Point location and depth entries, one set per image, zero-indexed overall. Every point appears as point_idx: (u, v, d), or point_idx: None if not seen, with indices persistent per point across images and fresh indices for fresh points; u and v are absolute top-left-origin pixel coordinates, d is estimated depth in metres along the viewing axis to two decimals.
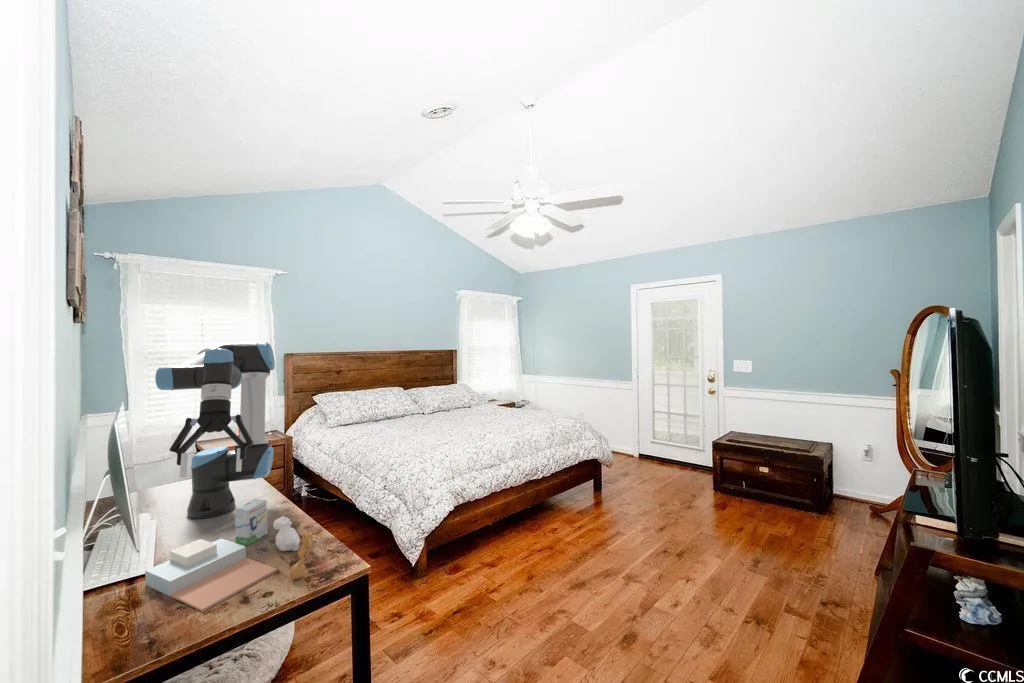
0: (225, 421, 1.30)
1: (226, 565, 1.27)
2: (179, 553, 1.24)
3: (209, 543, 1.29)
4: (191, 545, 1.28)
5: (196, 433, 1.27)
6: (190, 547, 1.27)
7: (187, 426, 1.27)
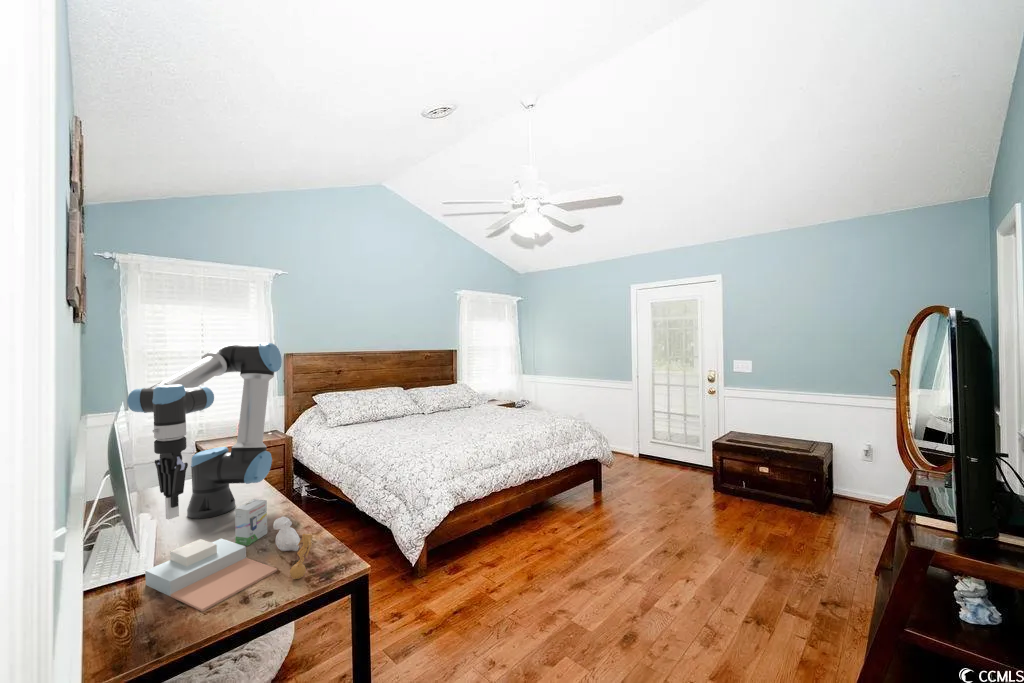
0: (171, 461, 1.28)
1: (226, 565, 1.27)
2: (179, 553, 1.24)
3: (209, 543, 1.29)
4: (191, 545, 1.28)
5: (164, 474, 1.30)
6: (190, 547, 1.27)
7: (157, 467, 1.31)
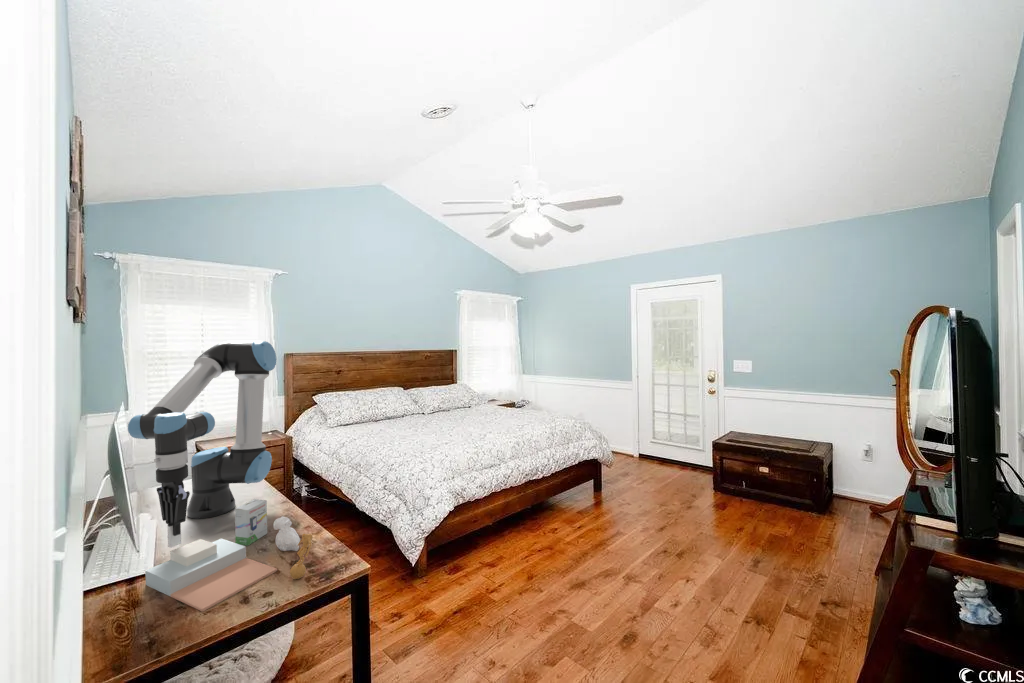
0: (173, 490, 1.29)
1: (226, 565, 1.27)
2: (179, 553, 1.24)
3: (209, 543, 1.29)
4: (191, 545, 1.28)
5: (166, 502, 1.30)
6: (190, 547, 1.27)
7: (159, 495, 1.32)
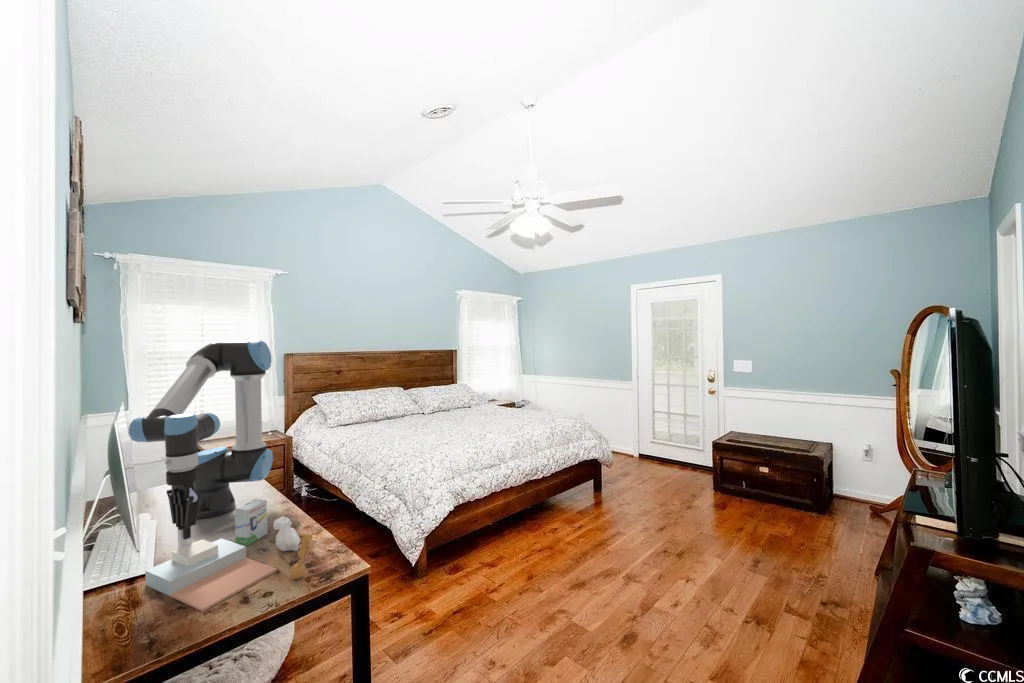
0: (183, 493, 1.26)
1: (226, 565, 1.27)
2: (180, 553, 1.24)
3: (210, 544, 1.29)
4: (192, 545, 1.28)
5: (176, 505, 1.28)
6: (192, 548, 1.27)
7: (170, 498, 1.29)
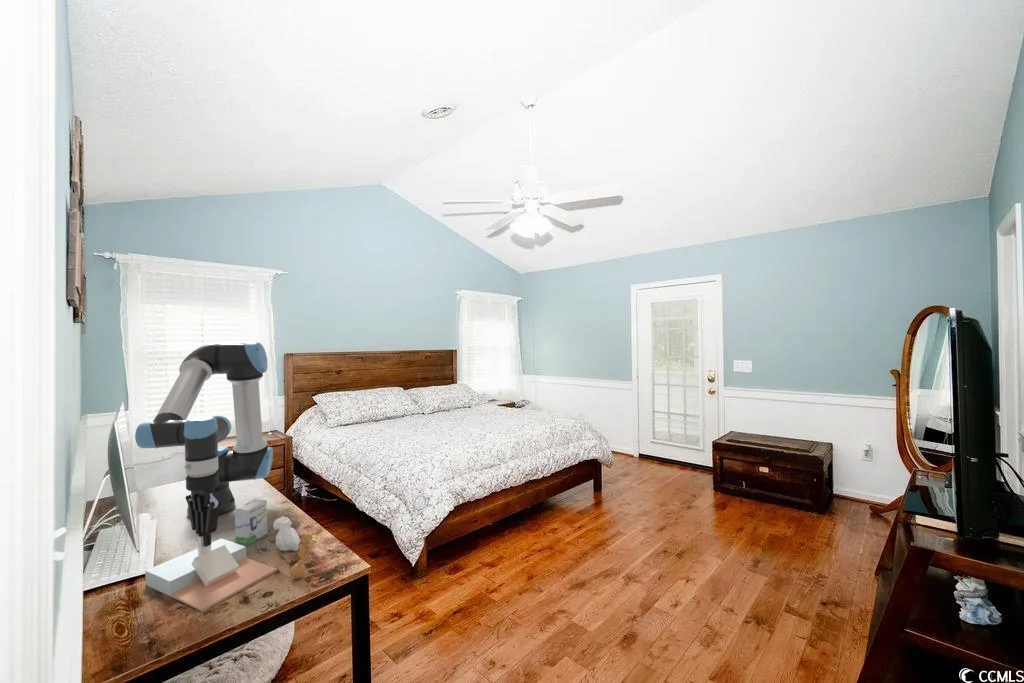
0: (204, 498, 1.22)
1: None
2: (202, 567, 1.19)
3: (232, 560, 1.25)
4: (215, 555, 1.23)
5: (196, 511, 1.23)
6: (214, 560, 1.22)
7: (189, 503, 1.25)
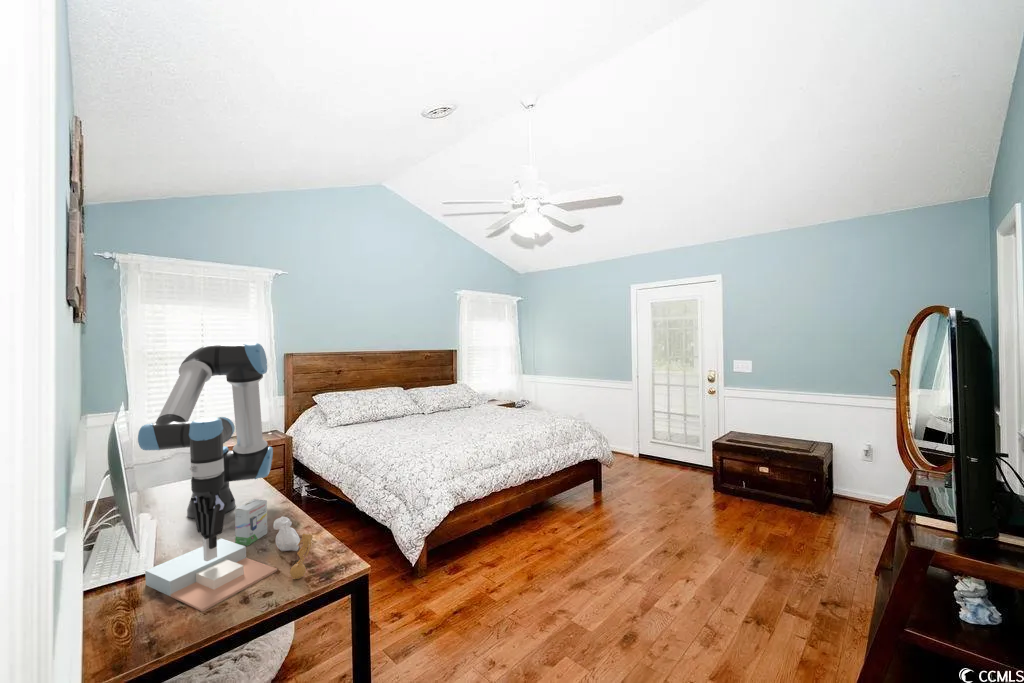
0: (209, 500, 1.21)
1: None
2: (205, 575, 1.19)
3: (235, 564, 1.24)
4: (217, 566, 1.23)
5: (201, 513, 1.22)
6: (217, 569, 1.22)
7: (194, 505, 1.24)
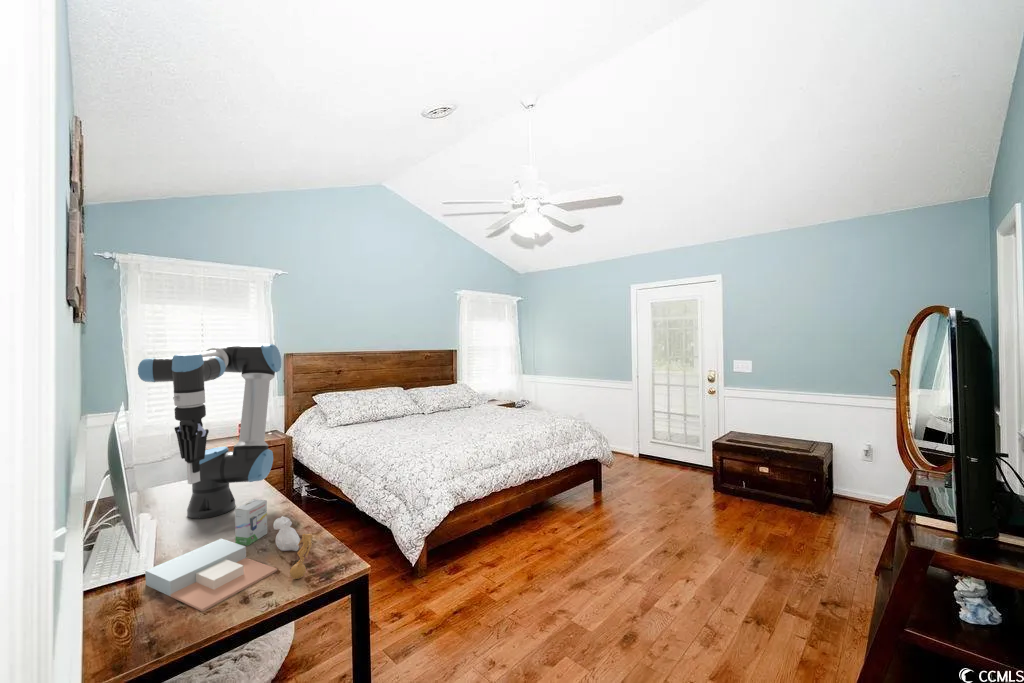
0: (192, 428, 1.31)
1: None
2: (205, 575, 1.19)
3: (235, 564, 1.24)
4: (217, 566, 1.23)
5: (184, 440, 1.33)
6: (217, 569, 1.22)
7: (178, 434, 1.34)
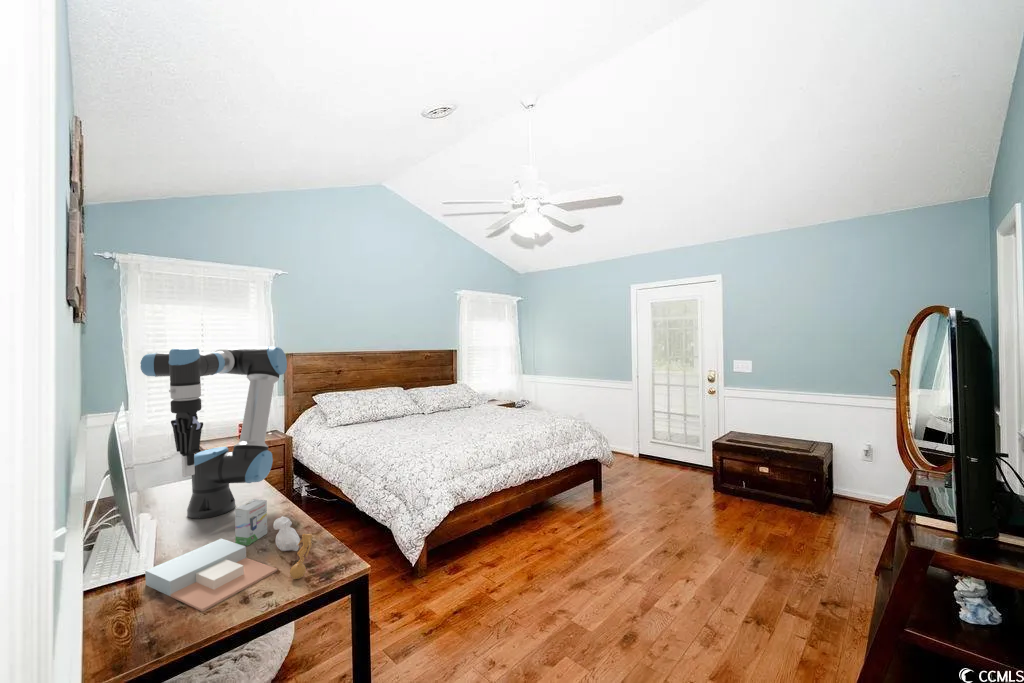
0: (187, 421, 1.33)
1: None
2: (205, 575, 1.19)
3: (235, 564, 1.24)
4: (217, 566, 1.23)
5: (180, 433, 1.35)
6: (217, 569, 1.22)
7: (174, 427, 1.36)
